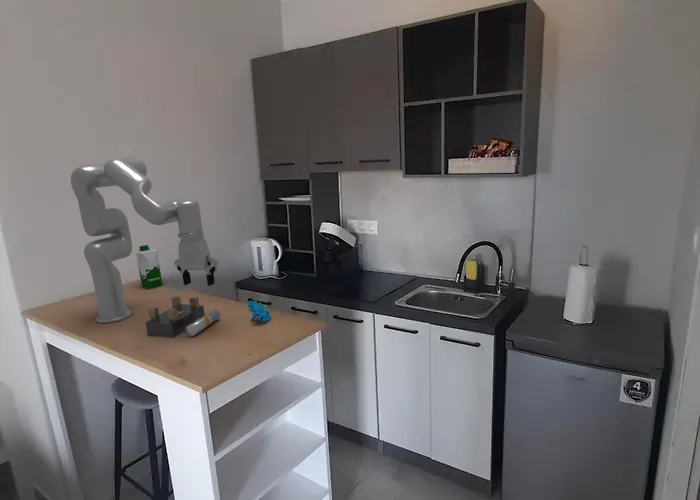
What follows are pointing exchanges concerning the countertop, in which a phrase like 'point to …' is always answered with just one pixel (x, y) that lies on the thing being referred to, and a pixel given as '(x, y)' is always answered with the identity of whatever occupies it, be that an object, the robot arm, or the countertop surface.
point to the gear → (259, 311)
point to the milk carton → (149, 267)
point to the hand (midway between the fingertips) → (199, 284)
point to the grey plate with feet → (174, 318)
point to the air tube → (202, 323)
